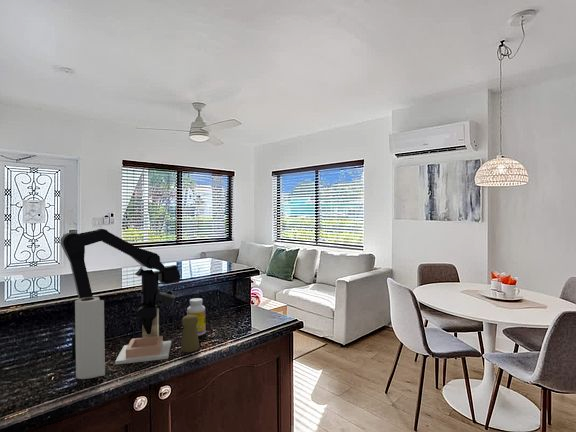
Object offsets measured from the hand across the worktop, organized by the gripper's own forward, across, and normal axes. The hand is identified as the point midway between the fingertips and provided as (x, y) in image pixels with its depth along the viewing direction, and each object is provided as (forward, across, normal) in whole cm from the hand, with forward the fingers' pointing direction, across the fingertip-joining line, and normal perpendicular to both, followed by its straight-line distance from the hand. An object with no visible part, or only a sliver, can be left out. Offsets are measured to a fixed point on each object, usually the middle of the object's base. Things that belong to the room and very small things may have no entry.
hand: (150, 329), depth 124 cm
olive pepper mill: (+3, -14, -14) cm, 20 cm away
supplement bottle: (+3, 0, -16) cm, 16 cm away
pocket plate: (+3, -14, 0) cm, 14 cm away
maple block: (+3, 0, 0) cm, 3 cm away
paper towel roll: (+3, -26, +13) cm, 29 cm away
